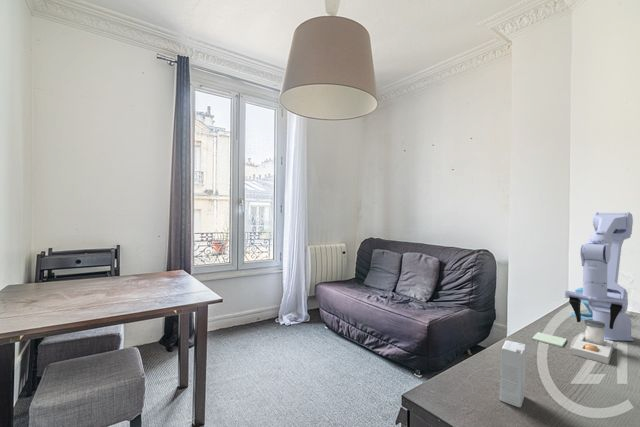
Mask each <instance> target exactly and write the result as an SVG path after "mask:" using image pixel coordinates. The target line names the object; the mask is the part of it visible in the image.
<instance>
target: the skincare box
mask: <svg viewBox="0 0 640 427" xmlns="http://www.w3.org/2000/svg"><path fill="white" fill-rule="evenodd" d="M500 350H501V351H500V352H501V353H500V371H499V372H500V376H499V401H501V402H503V403H505V404H508V405H511V406H514V407H517V408H522V405H523V403H524V398H525V395H526V362H527V345H526V344H525V343H520V342H517V341H512V340H507V339H505V341H504V344H503V346H502V347H501V348H500Z"/></svg>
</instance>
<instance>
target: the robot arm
mask: <svg viewBox="0 0 640 427" xmlns="http://www.w3.org/2000/svg"><path fill="white" fill-rule="evenodd" d="M633 223H634V219H633V215H632V213H631V212H629V211H628V212H597V211H596V212H595V213H594V214H593V216H592V226H593V228H594V232H592V233H591V234H590V235H589V238H588V240H587V243H584V244H581V247H580V252H579V254H580V259H581V267H582V288H583V293H581V292H575V291H572V290H566V291H565V293H564V297H565V299H569V300H568V301H569V304H570V305H571V308H572V310H573V313H575V315H576V317H575V318H576V322H577V323H581V320H582V319H581V313H582V312H581V305H582V304H581V303H582V302H581V300H587V304H588V305H589V306H591V309H593V311H592V312H593V316H592V317H593V320H595V321H599V322H602V323H604V324H605V327H604V339H605V340H610V341H624V342H625V341H627V342H628V341H630V342H632V341H633V342H634V338H632V320H631V317H630V315H629V314H628V313H626V312H627V311H628V306H629V299H628V297H629V296H628V295H629V294H628V292H627V290H626V289H625V288H624V287H623V286H622V285H620V284H618V282H619V281H618V280H619V271H620V264H621V263H620V262H621V255H622V247H623V243H624V241H625V240H628V239H631V236H632V234H633V225H634V224H633Z"/></svg>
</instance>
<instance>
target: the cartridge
mask: <svg viewBox="0 0 640 427" xmlns="http://www.w3.org/2000/svg"><path fill="white" fill-rule="evenodd" d="M584 325H585V326H584V327H585V331H584V333H585V334H584V335H585V342H588V343H592V344H597V345H601V346H604V327H605V324H604V323H602V322H599V321H595V320H584Z"/></svg>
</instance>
